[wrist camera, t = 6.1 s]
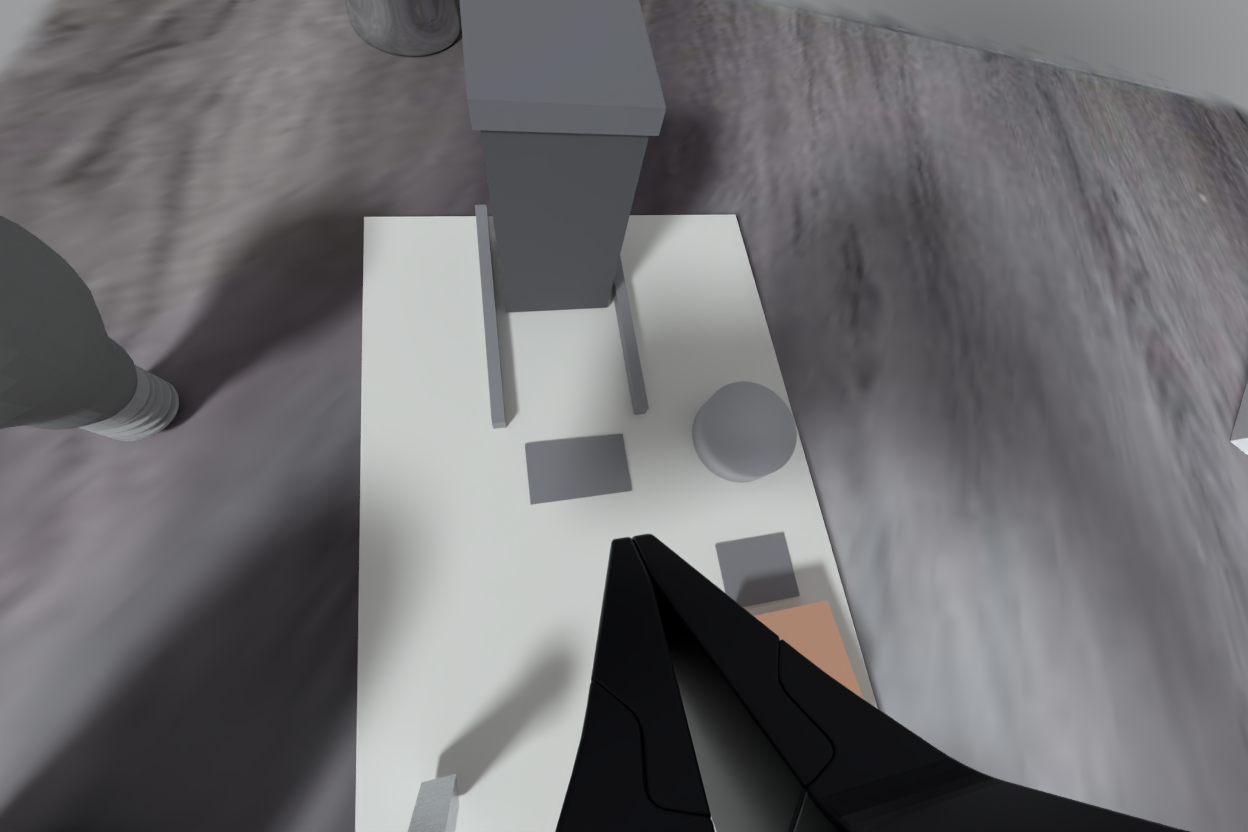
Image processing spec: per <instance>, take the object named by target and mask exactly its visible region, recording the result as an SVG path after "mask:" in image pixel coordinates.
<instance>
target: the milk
mask: <svg viewBox="0 0 1248 832" xmlns="http://www.w3.org/2000/svg"><path fill="white" fill-rule="evenodd" d="M1230 442H1232V443H1233V444H1234V445H1235V446H1237V447H1238V448H1239V449H1241V450H1242V451H1243V452H1244V453H1246V454H1247V455H1248V381H1247V385H1246V388H1245V392H1244V395H1243V398H1242V402H1241V405H1240V409H1239V412H1238V415H1237V419H1236V422H1235V426H1234V429H1233V432H1232V436H1231V439H1230Z"/></svg>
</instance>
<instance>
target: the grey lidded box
mask: <svg viewBox="0 0 1248 832" xmlns="http://www.w3.org/2000/svg"><path fill="white" fill-rule="evenodd" d="M460 13H461V26H462V39H463V52H464V65H465V78H466V91H467V102H468V108H469V114H470V120H471V127H472V130H481V137H482V144H483V151H484V158H485V165H486V172H487V180H488V187H489V194H490V201H491V208H492V215H493V222H494V230H495V237H496V244H497V251H498V258H499V265H500V273H501V280H502V287H503V294H504V301H505V308H506V313H510V312H530V311H550V310H570V309H590V308H607V307H608V302H609V298H610V294H611V290H612V286H613V282H614V278H615V274H616V270H617V266H618V261H619V257H620V253H621V249H622V245H623V241H624V237H625V233H626V229H627V225H628V220H629V216H630V212H631V208H632V204H633V200H634V196H635V192H636V188H637V184H638V179H639V175H640V171H641V167H642V163H643V159H644V155H645V151H646V147H647V143H648V138H649V136H659V133H660V130H661V126H662V122H663V118H664V115H665V111H666V105H665V101H664V97H663V93H662V89H661V86H660V82H659V78H658V74H657V70H656V66H655V62H654V58H653V54H652V50H651V46H650V42H649V38H648V34H647V30H646V26H645V22H644V19H643V15H642V11H641V7H640V3H639V0H460Z"/></svg>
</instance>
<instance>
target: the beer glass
mask: <svg viewBox="0 0 1248 832" xmlns="http://www.w3.org/2000/svg"><path fill="white" fill-rule="evenodd" d="M345 4H346V9H347V14H348V17H349V20H350V23H351V25H352V27H353V28H354V30H355V31H356V33H357V34H358V35H359V36H360V37H361V38H362V39H363V40H365V41H366V42H368V43H369V44H371V45H372V46H374V47H376V48H378V49H380V50H383V51H385V52H388V53H392V54H396V55H402V56H424V55H430V54H434V53H437V52H440V51H442V50H444V49H446V48H448V47H449V46H450V45H452V44H453V43H454V42H455V41H456V39H457V38H458V36H459V35H460V32H461V28H462V26H461V13H460V9H459V6H458V2H457V0H345Z"/></svg>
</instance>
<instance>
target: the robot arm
mask: <svg viewBox="0 0 1248 832" xmlns="http://www.w3.org/2000/svg"><path fill="white" fill-rule="evenodd" d="M711 818H712V820H711ZM712 821H713V822H712ZM713 823H714V825H713ZM714 826H715V829H716V831H717V832H1190V831H1185V830H1181V829H1177V828H1173V827H1170V826H1166V825H1162V824H1159V823H1155V822H1151V821H1148V820H1144V819H1141V818H1137V817H1133V816H1130V815H1126V814H1122V813H1119V812H1115V811H1112V810H1108V809H1104V808H1101V807H1097V806H1093V805H1090V804H1086V803H1082V802H1079V801H1075V800H1072V799H1068V798H1064V797H1061V796H1057V795H1053V794H1050V793H1046V792H1043V791H1039V790H1035V789H1032V788H1028V787H1024V786H1021V785H1017V784H1014V783H1010V782H1006V781H1003V780H1000V779H996V778H993V777H991V776H988V775H986V774H983V773H981V772H978V771H976V770H974V769H972V768H970V767H968V766H966V765H964V764H962V763H960V762H958V761H957V760H955V759H953V758H951V757H949V756H948V755H946V754H945V753H943V752H941V751H940V750H938V749H937V748H935V747H934V746H932V745H931V744H929V743H928V742H926V741H925V740H923V739H922V738H920V737H919V736H917V735H916V734H914V733H913V732H911V731H910V730H908V729H907V728H905V727H904V726H902V725H901V724H899V723H898V722H897V721H895V720H894V719H892V718H891V717H889V716H888V715H886V714H885V713H883V712H882V711H880V710H879V709H877V708H876V707H874V706H873V705H871V704H870V703H868V702H867V701H865V700H864V699H862V698H861V697H859V696H858V695H857V694H855V693H854V692H852V691H851V690H849V689H848V688H847V687H845V686H844V685H842V684H841V683H839V682H838V681H837V680H835V679H834V678H832V677H831V676H830V675H828V674H827V673H825V672H824V671H823V670H821V669H820V668H819V667H818V666H816V665H815V664H814V663H812V662H811V661H810V660H808V659H807V658H806V657H805V656H803V655H802V654H801V653H799V652H798V651H797V650H796V649H794V648H793V647H792V646H791V645H789V644H788V643H787V642H786V641H784V640H783V639H781V640H780V638H779V636H778V635H777V634H776V633H774V632H773V631H772V630H771V629H769V628H768V627H767V626H766V625H764V624H763V623H762V622H761V621H759V620H758V619H757V618H756V617H754V616H753V615H752V614H751V613H749V612H748V611H747V610H746V609H745V608H743V607H742V606H741V605H740V604H738V603H737V602H736V601H735V600H733V599H732V598H731V597H730V596H728V595H727V594H726V593H725V592H723V591H722V590H721V589H720V588H718V587H717V586H716V585H715V584H714V583H712V582H711V581H710V580H709V579H707V578H706V577H705V576H704V575H702V574H701V573H700V572H699V571H697V570H696V569H695V568H694V567H692V566H691V565H690V564H689V563H687V562H686V561H685V560H684V559H682V558H681V557H680V556H679V555H678V554H676V553H675V552H674V551H673V550H671V549H670V548H669V547H668V546H666V545H665V544H664V543H663V542H661V541H660V540H659V539H658V538H656V537H655V536H654V535H652V534H643V535H636V536H634V537H633V538H630V537H624V538H617V539H613V540H612V542H611V547H610V554H609V561H608V568H607V574H606V581H605V588H604V594H603V601H602V608H601V615H600V621H599V628H598V635H597V642H596V648H595V655H594V662H593V669H592V675H591V683H590V687H589V694H588V701H587V707H586V712H585V718H584V723H583V728H582V734H581V739H580V742H579V746H578V750H577V754H576V758H575V762H574V766H573V770H572V774H571V777H570V781H569V784H568V788H567V792H566V795H565V799H564V802H563V806H562V809H561V813H560V816H559V820H558V823H557V827H556V830H555V832H715V829H714Z"/></svg>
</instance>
